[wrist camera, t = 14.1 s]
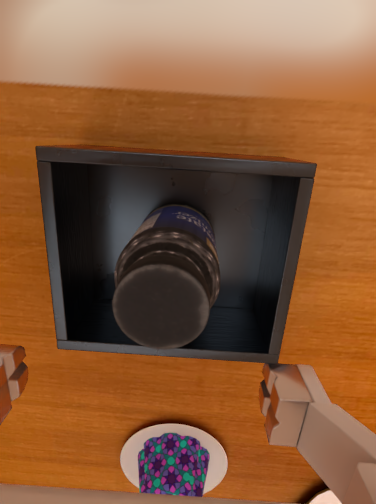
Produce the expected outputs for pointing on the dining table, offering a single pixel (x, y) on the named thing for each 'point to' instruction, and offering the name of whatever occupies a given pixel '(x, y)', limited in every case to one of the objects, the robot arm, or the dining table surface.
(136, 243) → the pill bottle
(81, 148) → the open box
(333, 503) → the plate
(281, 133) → the dining table surface
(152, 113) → the dining table surface
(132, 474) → the pudding
